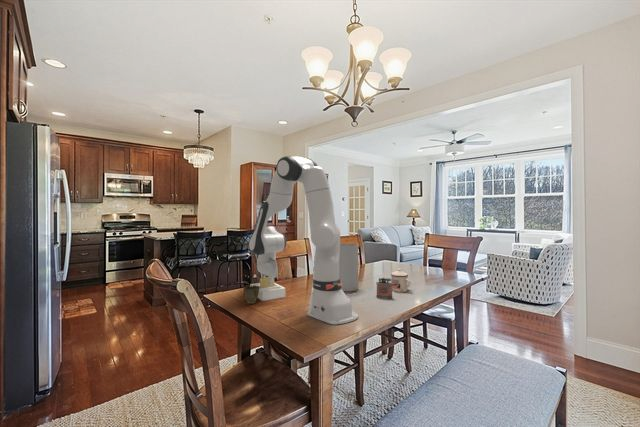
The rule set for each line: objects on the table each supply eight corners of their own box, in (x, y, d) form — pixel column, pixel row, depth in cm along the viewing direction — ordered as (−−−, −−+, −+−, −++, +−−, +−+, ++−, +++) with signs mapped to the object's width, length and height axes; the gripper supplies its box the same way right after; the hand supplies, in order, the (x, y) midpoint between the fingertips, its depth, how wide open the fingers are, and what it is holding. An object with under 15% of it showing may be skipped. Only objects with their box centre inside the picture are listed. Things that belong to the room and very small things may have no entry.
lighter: (375, 297, 146) (375, 277, 146) (377, 295, 149) (377, 276, 149) (392, 299, 143) (391, 279, 143) (392, 297, 146) (392, 277, 146)
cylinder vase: (346, 285, 171) (346, 243, 171) (362, 289, 162) (362, 244, 162) (331, 288, 163) (331, 244, 163) (347, 293, 154) (347, 246, 153)
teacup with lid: (387, 289, 161) (387, 268, 161) (398, 287, 166) (398, 266, 166) (404, 294, 151) (404, 272, 151) (415, 292, 156) (415, 270, 156)
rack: (285, 297, 148) (285, 288, 147) (261, 301, 141) (261, 292, 141) (271, 289, 163) (271, 281, 162) (249, 292, 156) (249, 284, 156)
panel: (274, 292, 152) (274, 277, 152) (261, 294, 149) (261, 278, 149) (272, 291, 155) (272, 276, 154) (260, 293, 151) (260, 278, 151)
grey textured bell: (255, 306, 133) (255, 289, 133) (240, 305, 134) (240, 288, 134) (261, 301, 140) (261, 285, 140) (247, 300, 142) (247, 284, 142)
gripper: (281, 259, 144) (281, 286, 145) (265, 254, 162) (265, 278, 162) (269, 260, 141) (269, 288, 141) (254, 254, 158) (254, 280, 158)
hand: (267, 283), depth 152 cm, fingers open, 8 cm apart
